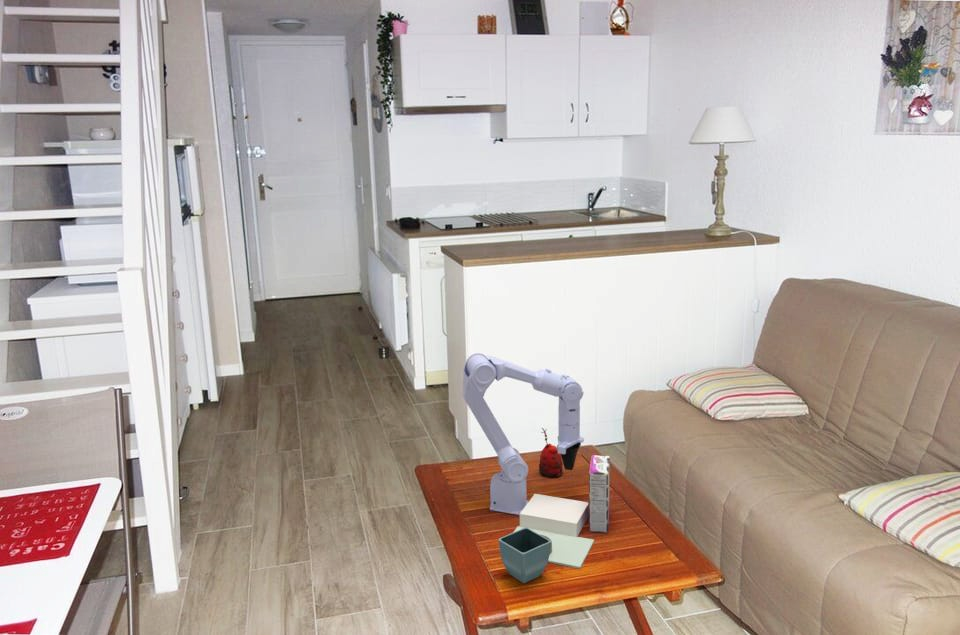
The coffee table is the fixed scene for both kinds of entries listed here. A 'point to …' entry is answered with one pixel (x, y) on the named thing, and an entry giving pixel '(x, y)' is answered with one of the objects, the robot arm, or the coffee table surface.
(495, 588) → the coffee table surface
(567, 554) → the placemat
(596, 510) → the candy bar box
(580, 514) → the riser
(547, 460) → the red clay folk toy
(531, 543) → the flower pot
